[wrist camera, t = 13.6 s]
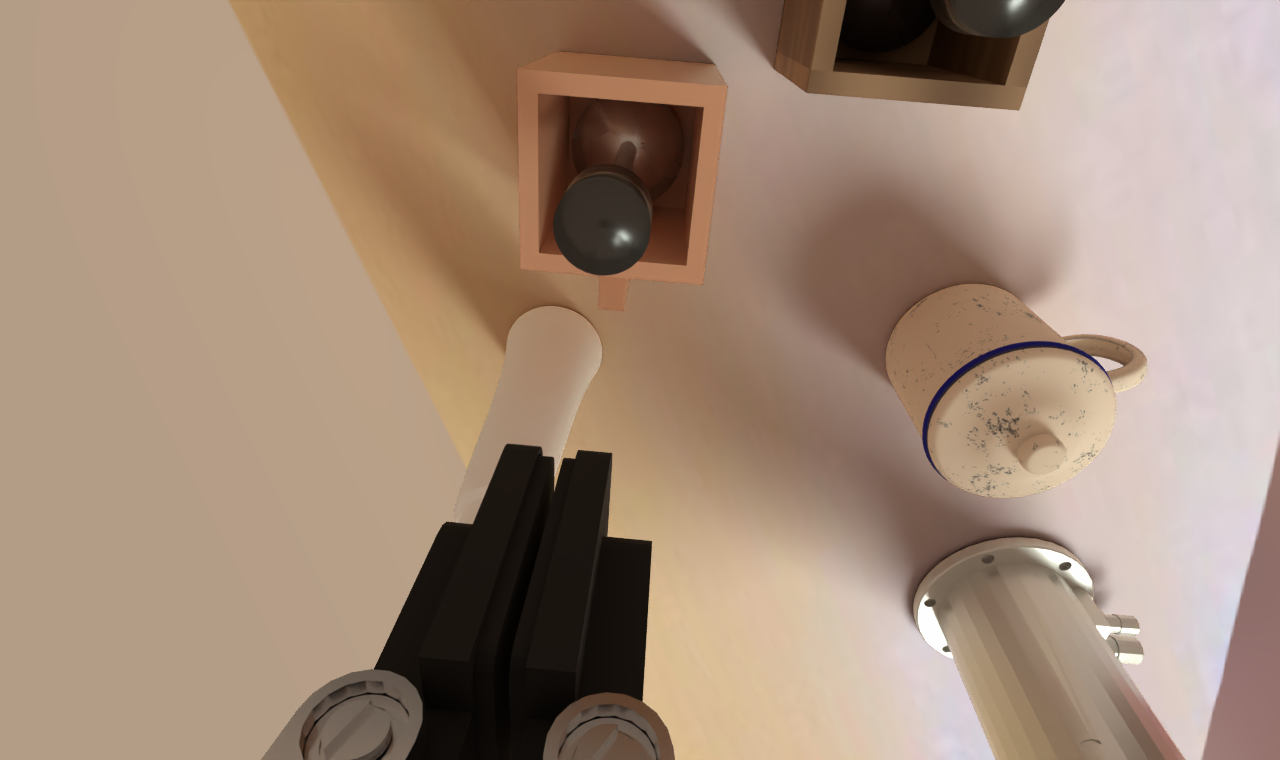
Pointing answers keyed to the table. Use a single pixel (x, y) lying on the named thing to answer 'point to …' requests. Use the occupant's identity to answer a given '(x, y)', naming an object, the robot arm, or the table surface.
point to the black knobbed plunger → (616, 183)
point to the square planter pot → (546, 170)
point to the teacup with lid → (1005, 390)
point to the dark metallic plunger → (965, 3)
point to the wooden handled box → (904, 61)
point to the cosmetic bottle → (533, 395)
